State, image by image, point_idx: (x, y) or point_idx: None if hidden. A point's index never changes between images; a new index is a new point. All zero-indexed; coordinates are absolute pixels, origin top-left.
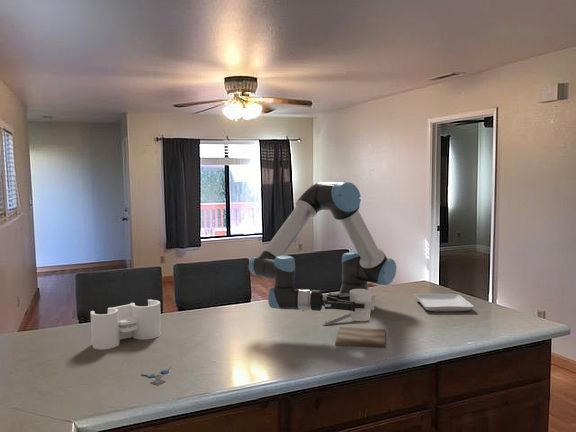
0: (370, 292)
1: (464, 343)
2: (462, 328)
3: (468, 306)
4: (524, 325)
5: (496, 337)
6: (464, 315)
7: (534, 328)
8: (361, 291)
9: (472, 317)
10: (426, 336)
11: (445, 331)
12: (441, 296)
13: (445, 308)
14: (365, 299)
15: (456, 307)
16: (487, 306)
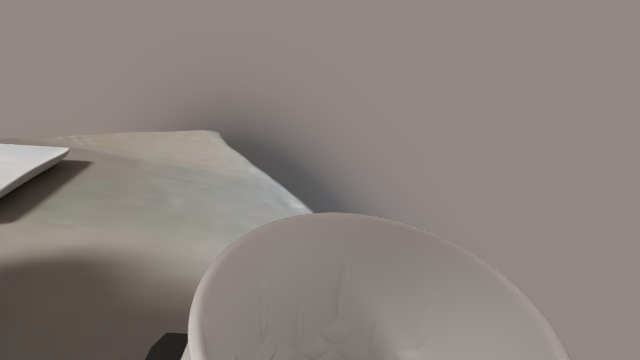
0: (314, 232)
1: (303, 211)
2: (192, 195)
3: (38, 154)
4: (194, 146)
5: (259, 176)
6: (83, 175)
7: (213, 144)
8: (213, 310)
9: (110, 171)
10: None
11: (210, 221)
12: None
13: (21, 181)
14: (455, 310)
15: (43, 165)
16: (39, 144)
